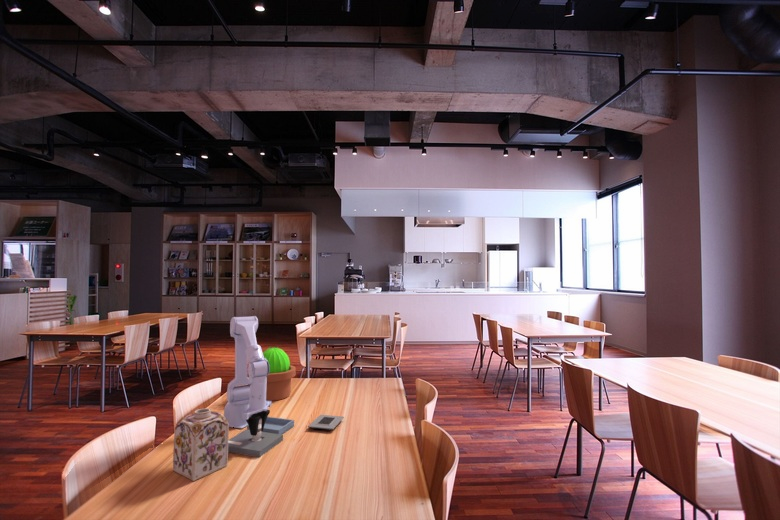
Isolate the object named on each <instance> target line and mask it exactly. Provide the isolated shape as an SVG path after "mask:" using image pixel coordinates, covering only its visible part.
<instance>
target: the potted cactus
mask: <svg viewBox="0 0 780 520" xmlns="http://www.w3.org/2000/svg"><path fill="white" fill-rule="evenodd" d="M262 352H263V356H264V358H266V360H268V362H269V368H270V370H269V375H268V376H266V377H267V385H266V401H272V402H273V401H280V400H284V399H287V398H288V397H290V395H291V391H292V390H291V389H292V383H291V382H292V379H293V378H295V376H296V371H297V368H296V366H294V365H292V364H291V360H290V357H289V355H288V354H287V352H285V351H284V349H282V348H279V347H278V346H274V347H272V346H269V347H268V348H267V349H266V350H264V351H262Z"/></svg>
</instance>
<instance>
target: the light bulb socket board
mask: <svg viewBox="0 0 780 520" xmlns="http://www.w3.org/2000/svg"><path fill="white" fill-rule="evenodd" d="M283 440H284V434H282V435H281V434H274V433H267V432H261V440H260V441H259V442H255V441H252V435H251V433H250V430H247V429H245V430H243V431H241V432H240V433H238V434H236V435H234V436H233V437H230V438H228V453H232V454H238V455H245V456H251V457H255V458H261V457H263V456H264V455H265V454H266V453H268V452H269V451H271V449H274V447H276V446H277V445H279V444H280V443H281V442H282V441H283Z"/></svg>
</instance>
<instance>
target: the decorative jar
mask: <svg viewBox="0 0 780 520" xmlns="http://www.w3.org/2000/svg"><path fill="white" fill-rule="evenodd" d="M229 428H230V427H229V423H228V422H227V420H226V419H225V417H224V413H221V412H219V411H214V410H213V411H212V410H211V409H210V408H206V407H205V408H200V409H199V408H198V409H196V410H195V411H193V413H192V414H188V415H186V416H185V417H183V418H182V419H181V420H180V421H179V422H178V423H177V424H176V425H175V426H174V434H173V435H174V436H173V437H174V438H173V450H172V451H173V453H172V454H173V457H172V471H174V472H175V473H177V474H179V475H181V476H182V477H185V478H186V479H189V480H190V481H193V482H194V481H198V480H199V479H202V478H204V477H206V476H209V475H210V474H213V473H215V472H217V471H220V470H221V468H222V469H223V467H224V468H226V467H227V466H228V462H229V461H228V460H229V459H228V458H229V452H228V440H229V432H230V430H229Z"/></svg>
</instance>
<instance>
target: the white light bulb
mask: <svg viewBox="0 0 780 520" xmlns="http://www.w3.org/2000/svg"><path fill="white" fill-rule="evenodd" d="M261 424H262V418H260V421H259V424H258V432H257V435H256V436H254V435H252V441H255V442H259V441H260V440H261Z"/></svg>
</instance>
